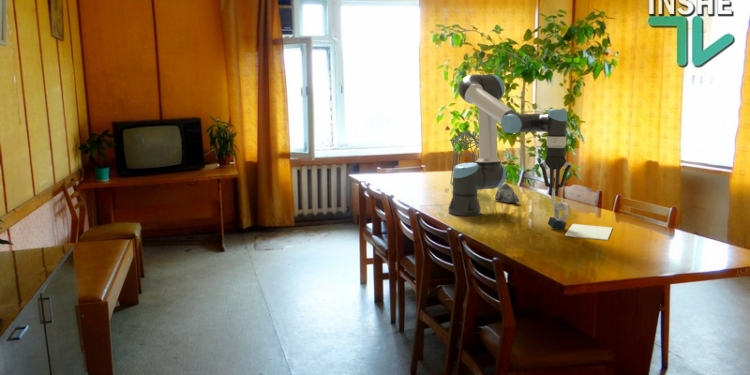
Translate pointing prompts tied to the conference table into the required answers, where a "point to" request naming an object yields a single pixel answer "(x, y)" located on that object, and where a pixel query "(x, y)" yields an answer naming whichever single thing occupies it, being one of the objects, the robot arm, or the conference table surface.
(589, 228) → the felt mat
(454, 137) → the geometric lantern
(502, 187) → the mineral rock
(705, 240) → the conference table surface
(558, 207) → the watch
